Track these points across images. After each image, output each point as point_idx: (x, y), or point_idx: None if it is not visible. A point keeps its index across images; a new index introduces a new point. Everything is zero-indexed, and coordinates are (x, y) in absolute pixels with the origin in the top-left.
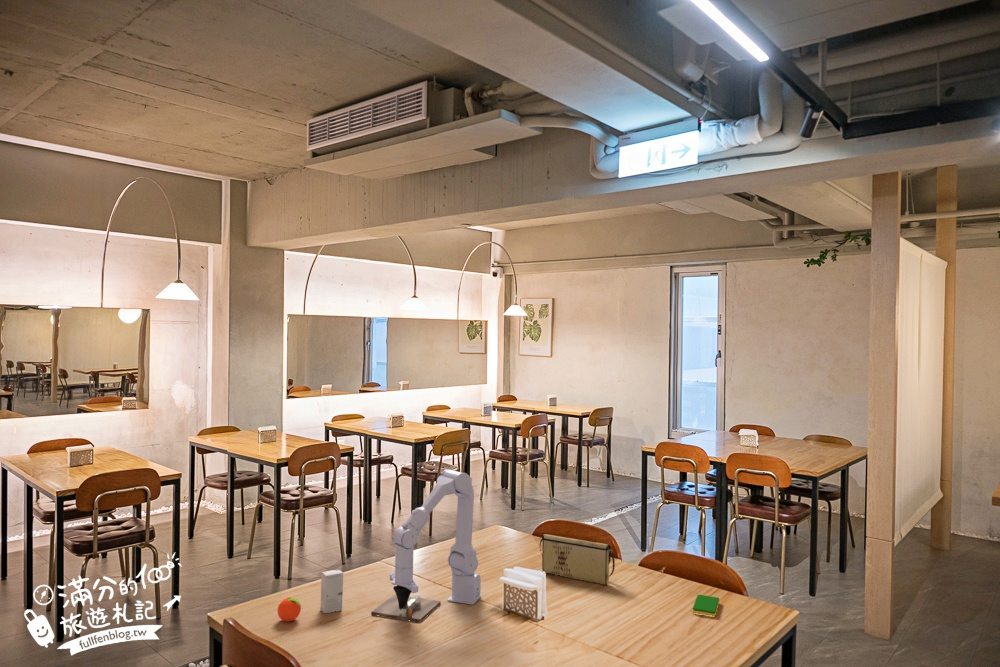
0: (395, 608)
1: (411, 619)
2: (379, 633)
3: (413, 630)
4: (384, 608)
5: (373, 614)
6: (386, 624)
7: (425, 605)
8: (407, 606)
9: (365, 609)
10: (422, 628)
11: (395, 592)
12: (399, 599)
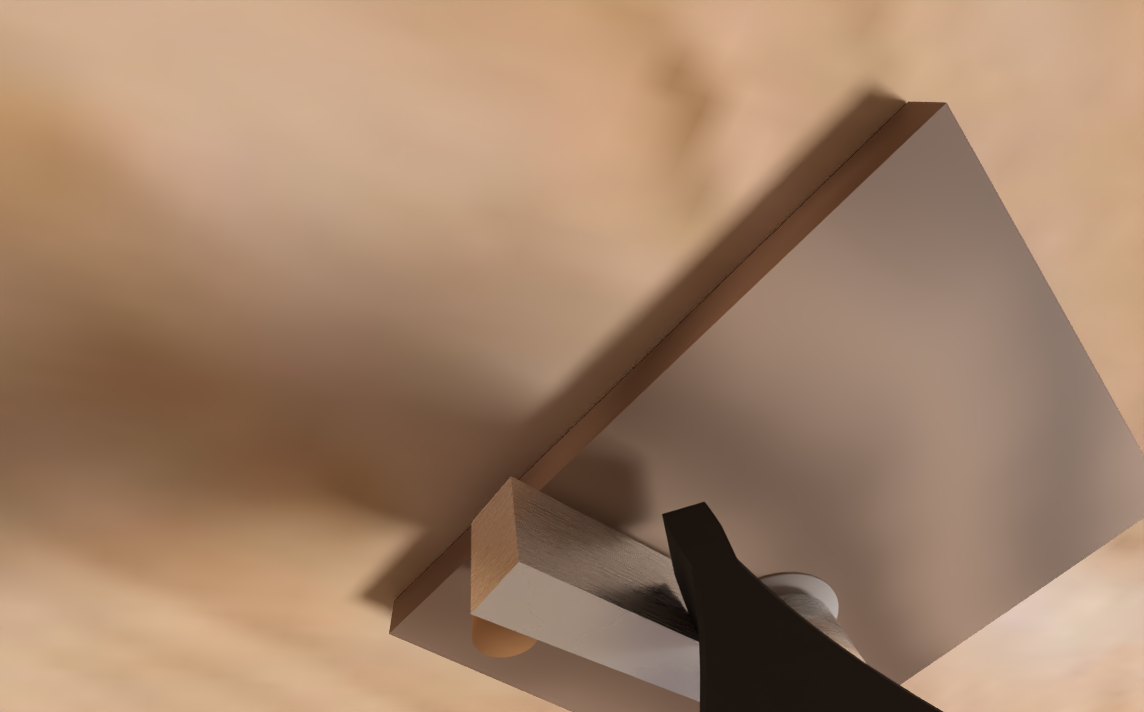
0: (832, 448)
1: (463, 550)
2: (91, 14)
3: (166, 518)
4: (920, 323)
5: (885, 132)
6: (468, 237)
7: None
8: (580, 637)
9: (1130, 69)
10: (216, 605)
11: (907, 699)
12: (717, 637)
